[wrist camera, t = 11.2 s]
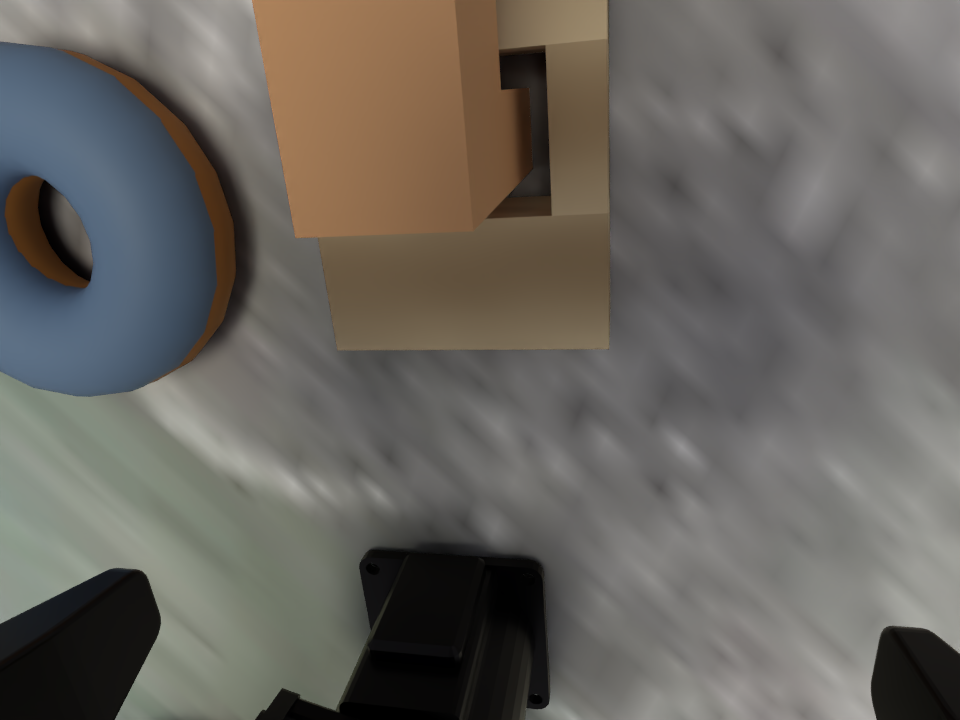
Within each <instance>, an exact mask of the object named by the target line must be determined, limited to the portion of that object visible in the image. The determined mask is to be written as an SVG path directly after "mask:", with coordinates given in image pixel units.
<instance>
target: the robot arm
mask: <svg viewBox="0 0 960 720" xmlns="http://www.w3.org/2000/svg"><path fill="white" fill-rule="evenodd" d="M371 563H373V564H376V565H377V566H378V567H374V566H373V565H372V564H371ZM359 569H360V574H361V579H362V585H363V590H364V596H365V601H366V607H367V612H368V617H369V623H370V628H371V633H370V635H369V637H368V639H367V642H366V644H365V646H364V648H363V650H362V653H361V655H360V657H359V659H358V662H357V664H356V666H355V668H354V671H353V673H352V675H351V677H350V680H349V682H348V684H347V686H346V688H345V691H344V693H343V695H342V697H341V700H340V702H339V704H338V706H337V709H336V711H335V710H332V709H329V708H326V707H323V706H320V705H318V704H315V703H312V702H309V701H306V700H303V699H301V698H300V694H297V693H294V692H291V691H289V690H286V689H283V688H282V689H281V691H280V692H279V693H278V695H277V696H276V698H275V699H274V700H273V702H272V703H271V705H270V706H269V707H268V709H267V710H266V711H265V710H262V711H261V712H260V714H259V715H258V716H257V718H256V719H255V720H525V713H526V708H531V709H543V708H545V707H546V706H547V705H548V704H549V699H550V676H549V657H548V638H547V620H546V601H545V582H544V571H543V568H542V567H541V565H540V564H539V563H537V562H535V561H532V560H526V559H510V558H493V557H477V556H461V555H445V554H429V553H413V552H396V551H380V550H371V551H368V552H366V553H365V555H364V557H363V558H362V560H361V562H360V566H359ZM527 573H528V574H531V575H533V576H534V577H531V578H529V577H526V576H525V575H523V574H527ZM160 625H161V617H160V613H159V610H158V607H157V604H156V601H155V598H154V595H153V592H152V589H151V586H150V583H149V580H148V578H147V576H146V574H144V573H143V572H142V571H140V570H137V569H124V568H113V569H109V570H107V571H105V572H103V573H101V574H99V575H97V576H95V577H93V578H91V579H89V580H87V581H85V582H83V583H81V584H79V585H77V586H75V587H73V588H71V589H69V590H67V591H65V592H63V593H61V594H59V595H57V596H55V597H53V598H51V599H49V600H47V601H45V602H43V603H41V604H39V605H37V606H35V607H33V608H31V609H29V610H27V611H25V612H23V613H21V614H19V615H17V616H15V617H13V618H11V619H9V620H7V621H5V622H3V623H1V624H0V720H115V718H116V716H117V714H118V712H119V710H120V708H121V706H122V704H123V702H124V700H125V698H126V697H127V695H128V693H129V691H130V689H131V687H132V685H133V683H134V681H135V679H136V677H137V675H138V673H139V671H140V669H141V667H142V665H143V664H144V662H145V660H146V658H147V656H148V654H149V652H150V650H151V648H152V646H153V644H154V642H155V640H156V638H157V636H158V634H159V630H160ZM535 694H537V695H535ZM871 696H872V703H873V707H874V711H875V715H876V719H877V720H960V653H958V652H957V651H956V650H955V649H953V648H952V647H951V646H950V645H948V644H947V643H946V642H945V641H943V640H942V639H941V638H940V637H938V636H937V635H936V634H934V633H933V632H931V631H929V630H927V629H923V628H914V627H901V626H888V627H886V628H884V629H883V631H882V633H881V635H880V639H879V644H878V649H877V654H876V659H875V665H874V670H873V675H872V680H871Z"/></svg>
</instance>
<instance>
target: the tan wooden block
mask: <svg viewBox="0 0 960 720" xmlns="http://www.w3.org/2000/svg"><path fill="white" fill-rule="evenodd" d="M252 3H253V8H254V13H255V19H256V24H257V30H258V35H259V41H260V46H261V52H262V57H263V63H264V68H265V74H266V79H267V85H268V90H269V96H270V101H271V107H272V112H273V117H274V123H275V128H276V134H277V139H278V145H279V150H280V156H281V161H282V167H283V172H284V178H285V183H286V189H287V194H288V200H289V205H290V211H291V216H292V221H293V227H294V232H295V238H312V237H338V236H365V235H391V234H418V233H444V232H470V231H474V230H475V229H476V228H477V227H478V226H479V225H480V224H481V223H482V222H483V221H484V220H485V219H486V218H487V216H488V215H489V214H490V213H491V212H492V211H493V210H494V209H495V208H496V207H497V206H498V205H499V204H500V203H501V202H502V201H503V200H504V199H505V198H506V197H507V196H508V194H509V193H510V192H511V191H512V190H513V189H514V188H515V187H516V186H517V185H518V184H519V183H520V182H521V181H522V180H523V179H524V178H525V177H526V176H527V175H528V174H529V172H530V171H531V170H532V169H533V160H532V137H531V115H530V92H529V88H519V89H507V90H501V81H500V64H499V47H498V30H497V13H496V0H252Z"/></svg>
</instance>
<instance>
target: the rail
mask: <svg viewBox="0 0 960 720" xmlns="http://www.w3.org/2000/svg"><path fill="white" fill-rule="evenodd" d="M496 13H497V30H498V47H499V56H509V55H520V54H530V53H540V52H546V74H547V100H548V126H549V152H550V178H551V196H532V197H513V198H505V199H504V200H503V201H502V202H501V203H500V204H499V205H498V206H497V207H496V208H495V209H494V210H493V211H492V212H491V213H490V214H489V215H488V216H487V218H486V219H485V220H484V221H483V222H482V223H481V224H480V225H479V226H478V227H477V228H476V229H475V230H474V231H470V232H444V233H418V234H391V235H365V236H338V237H318V242H319V247H320V253H321V259H322V265H323V270H324V276H325V282H326V288H327V293H328V299H329V305H330V311H331V316H332V322H333V328H334V334H335V340H336V345H337V350H546V349H609V337H610V152H609V0H496Z"/></svg>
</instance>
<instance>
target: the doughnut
mask: <svg viewBox="0 0 960 720" xmlns="http://www.w3.org/2000/svg"><path fill="white" fill-rule="evenodd" d="M44 180H46V181H47V182H48V183H50V184H51V185H52V186H53V187H54V188H55V189H57V190H58V191H59V192H60V193H61V194H62V195H64V196H65V197H66V199H67V200H68V201H69V203H70V204H71V206H72V207H73V208H74V210H75V211H76V212H77V214H78V215H79V217H80V218H81V220H82V223H83V225H84V227H85V230H86V232H87V234H88V237H89V239H90V243H91V250H92V257H93V269H92V276H91V281H90V282H89V281H87V280H85V279H83V278H81V277H79V276H78V275H76V274H75V273H74V272H73V271H72V270H70V269H69V268H68V267H67V266H66V265H65V264H63V263H62V261H61V260H60V259H59V257H58V256H57V255H56V253H55V252H54V251H53V249H52V248H51V247H50V245H49V242H48V240H47V238H46V236H45V233H44V231H43V229H42V227H41V223H40V217H39V211H38V200H39V191H40V187H41V185H42V183H43V181H44ZM235 275H236V260H235V241H234V223H233V220H232V217H231V214H230V211H229V208H228V205H227V202H226V199H225V196H224V193H223V190H222V187H221V185H220V182H219V179H218V176H217V173H216V171H215V170H214V168H213V166H212V165H211V163H210V162H209V160H208V159H207V157H206V156H205V154H204V153H203V151H202V150H201V148H200V147H199V145H198V144H197V142H196V141H195V139H194V138H193V136H192V134H191V133H190V131H189V130H188V128H187V127H186V125H185V124H184V123H182V122H181V121H180V120H179V119H178V118H177V117H176V116H175V115H174V114H173V113H172V112H170V111H169V110H168V109H167V108H166V107H165V106H164V105H163V104H162V103H160V102H159V101H158V100H157V99H156V98H155V97H154V96H153V95H152V94H151V93H149V92H148V91H147V90H146V89H145V88H144V87H143V86H142V85H141V84H140V83H138V82H137V81H136V80H135V79H133V78H131V77H129V76H127V75H125V74H123V73H121V72H119V71H117V70H114V69H112V68H110V67H108V66H106V65H104V64H102V63H100V62H98V61H96V60H94V59H92V58H90V57H88V56H86V55H84V54H80V53H76V52H73V51H68V50H60V49H54V48H50V47H42V46H33V45H25V44H16V43H8V42H0V371H1V372H3V373H5V374H7V375H9V376H11V377H13V378H15V379H17V380H19V381H21V382H23V383H25V384H27V385H29V386H31V387H33V388H38V389H43V390H48V391H53V392H58V393H63V394H68V395H73V396H88V397H91V396H98V395H106V394H113V393H121V392H129V391H133V390H136V389H138V388H141V387H143V386H145V385H147V384H149V383H152V382H155V381H157V380H159V379H161V378H162V377H164V376H166V375H168V374H169V373H171V372H173V371H175V370H176V369H178V368H180V367H182V366H183V365H185V364H187V363H189V362H190V361H192V360H193V359H194V358H195V357H196V356H197V355H198V353H199V352H200V351H201V350H202V348H203V347H204V346H205V344H206V343H207V342H208V340H209V339H210V338H211V336H212V335H213V334H214V332H215V331H216V330H217V328H218V327H219V326H220V324H221V323H222V322H223V320H224V316H225V313H226V309H227V305H228V302H229V298H230V295H231V291H232V287H233V284H234V280H235Z"/></svg>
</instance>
